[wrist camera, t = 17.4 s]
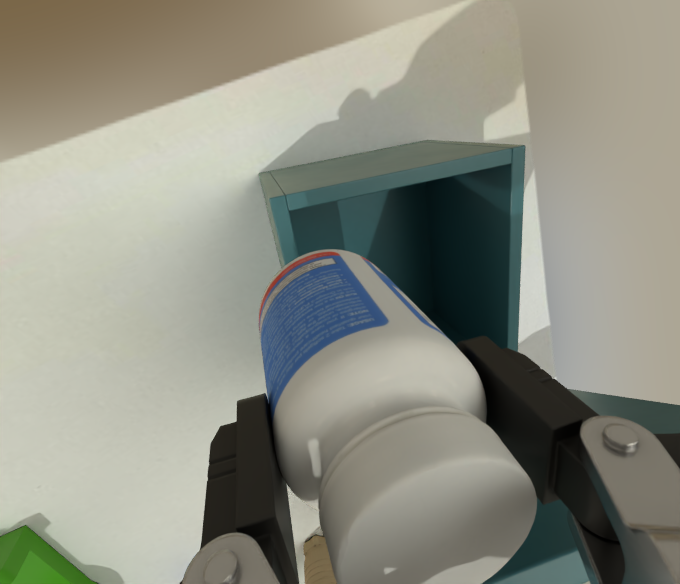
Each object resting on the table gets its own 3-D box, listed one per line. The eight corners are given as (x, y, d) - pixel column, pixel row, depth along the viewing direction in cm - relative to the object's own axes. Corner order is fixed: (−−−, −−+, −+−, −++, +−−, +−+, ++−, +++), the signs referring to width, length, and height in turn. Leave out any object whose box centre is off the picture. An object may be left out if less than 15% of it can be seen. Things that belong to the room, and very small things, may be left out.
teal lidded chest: (258, 173, 29) (268, 198, 18) (427, 139, 31) (526, 145, 20) (300, 348, 35) (326, 441, 25) (438, 311, 37) (516, 383, 27)
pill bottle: (248, 362, 16) (257, 660, 7) (270, 234, 14) (320, 420, 5) (372, 371, 17) (505, 622, 9) (407, 258, 15) (620, 429, 7)
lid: (386, 621, 8) (464, 924, 8) (875, 432, 10) (968, 659, 10) (326, 440, 24) (349, 532, 24) (519, 381, 26) (545, 464, 26)
